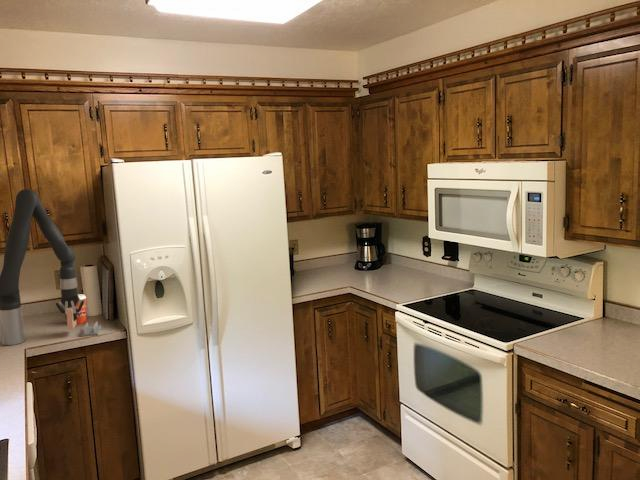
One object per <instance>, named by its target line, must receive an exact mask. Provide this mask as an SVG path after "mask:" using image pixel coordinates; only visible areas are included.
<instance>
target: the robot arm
mask: <svg viewBox="0 0 640 480" xmlns="http://www.w3.org/2000/svg"><path fill="white" fill-rule="evenodd" d="M32 218H33V219H34V220H35V222H36V224H37V226H38V227H39V230H40V231H41V234H42V235H43V237H44V238H45V239H46V241H47V242H48V244H49V245H50V247H51V249H52V251H53V253H54V255H55V256H56V258H57V259H58V260H59V262H60V267H59V278H60V279H59V280H60V281H59V282H60V283H59V285H60V286H59V287H60V294H61V295H60V296H61V297H60V298H61V299H60V300H59V301H57V302H55V306H56V307H57V309H58V310H59V312H60V313H61V314H64V317H65V320H66V321H67V315H66V309H67V308H68V307H72V308H73V313H74V314H73V317H74V321H76V319H77V312H80V310H81V308H82V306H83V304H84V302H85V301H84V300H80V299H79V297H78V294H79V292H78V280H77V274H76V273H77V272H76V252H75V250H74V248H73V247H71V246H69V245H68V244H67V243H66V242H65V237H64V236H63V233H61V231H60V230H59V228H58V227H57V225H56V224H55V223H54V221H53V220H52V218H51V217H50V215H49V214H48V212H47V211H46V210H45V208H44V206H43V204H42V201H41V199H40V195H39V193H38V192H36V191H35V190H33V189H30V188H29V189H28V188H24V189H21V190H19V191H18V192H17V194H16V196H15V205H14V212H13V217H12V220H11V224H10V225H9V226H10V227H9V229H8V233H7V237H6V240H5V241H6V242H5V245H4V253H3V265H2V269H1V272H0V339H1V346H15V345H18V344H21V343H24V342H25V341H26V336H25V328H24V327H25V326H24V319H23V317H24V316H23V310H22V301H21V294H20V286H19V285H20V284H19V283H20V274H21V268H22V266H23V262H24V260H25V257H26V254H27V251H28V250H27V249H28V247H29V242H30V236H31V221H32ZM78 301H79V304H80V306H79V308H78V309H76V304H77V303H78ZM62 305H63V306H64V308H63V306H62Z"/></svg>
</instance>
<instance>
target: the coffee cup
mask: <svg viewBox="0 0 640 480" xmlns="http://www.w3.org/2000/svg"><path fill="white" fill-rule="evenodd" d="M78 297H79V299H80V300H84V301H85V302H84V304H83V306H82V308H81V310H80V312H77V319H76V325H77V326H78V325H85V324H86V323H87V301H86V299H87V296H86V295H85V294H83V293H81V294H80V293H78ZM79 306H80V304H79V301H78V303H77V304H76V309H78V308H79ZM76 325H75V326H76Z"/></svg>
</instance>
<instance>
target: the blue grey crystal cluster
mask: <svg viewBox="0 0 640 480" xmlns="http://www.w3.org/2000/svg"><path fill="white" fill-rule="evenodd" d="M101 328H102V325H98V321H95V323H94V325H93V326H92V325H91V326H89V322H87V321H86V323H85V324H84V327H83V329H82V331H81V332H80V334H79V336H80V338H82V337H90V336H91V337H92V336H98V335H99V333H100V331H101Z"/></svg>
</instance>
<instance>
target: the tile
mask: <svg viewBox="0 0 640 480" xmlns="http://www.w3.org/2000/svg"><path fill="white" fill-rule="evenodd" d="M73 314H74V313H73V308H72V307H68V308H67V309H66V315H67V320H66V323H67V330H73V329H75V326H76V321H74V317H73Z"/></svg>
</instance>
